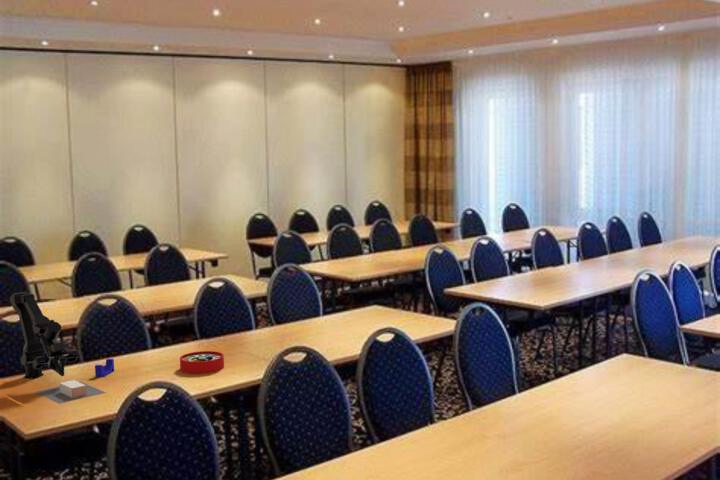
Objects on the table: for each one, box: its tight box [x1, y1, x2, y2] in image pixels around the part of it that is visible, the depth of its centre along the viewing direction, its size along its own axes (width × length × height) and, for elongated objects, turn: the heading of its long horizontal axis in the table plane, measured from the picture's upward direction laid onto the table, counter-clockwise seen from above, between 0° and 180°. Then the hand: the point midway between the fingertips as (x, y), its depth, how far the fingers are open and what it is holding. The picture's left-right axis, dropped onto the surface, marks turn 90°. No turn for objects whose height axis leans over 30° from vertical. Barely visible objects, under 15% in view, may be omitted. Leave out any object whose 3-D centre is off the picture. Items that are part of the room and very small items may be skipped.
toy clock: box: [179, 350, 225, 375], centre depth 377 cm, size 20×6×20 cm
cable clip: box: [94, 358, 115, 378], centre depth 370 cm, size 12×4×6 cm, turn 170°
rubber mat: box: [35, 381, 107, 405], centre depth 341 cm, size 24×20×1 cm
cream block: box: [59, 379, 88, 398], centre depth 339 cm, size 4×6×12 cm
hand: (63, 375), depth 346 cm, fingers closed
